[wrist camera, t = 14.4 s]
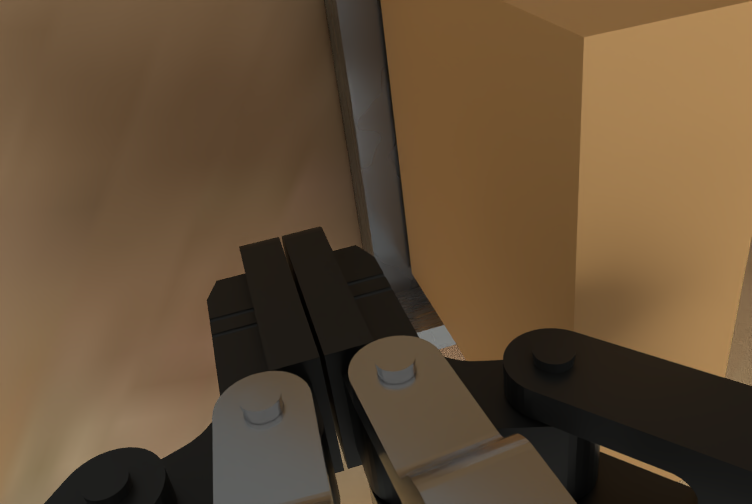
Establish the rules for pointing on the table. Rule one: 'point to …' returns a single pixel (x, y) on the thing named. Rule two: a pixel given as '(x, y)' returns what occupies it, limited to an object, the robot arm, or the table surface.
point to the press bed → (377, 154)
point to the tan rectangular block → (577, 169)
